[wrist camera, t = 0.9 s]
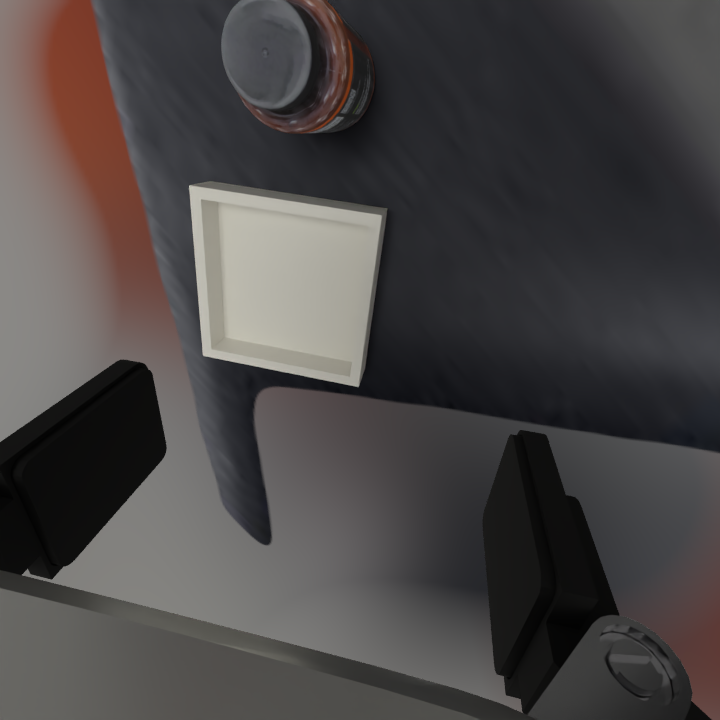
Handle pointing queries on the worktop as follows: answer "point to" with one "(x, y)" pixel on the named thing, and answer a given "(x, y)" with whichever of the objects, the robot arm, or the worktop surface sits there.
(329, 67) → the supplement bottle
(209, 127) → the worktop surface
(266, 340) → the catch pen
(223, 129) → the worktop surface
